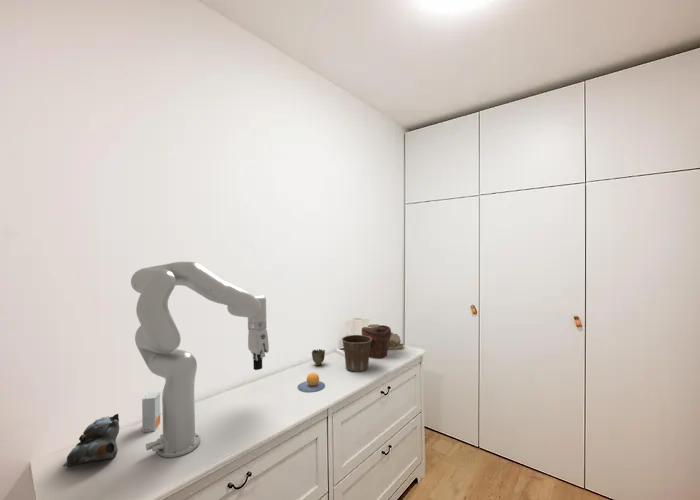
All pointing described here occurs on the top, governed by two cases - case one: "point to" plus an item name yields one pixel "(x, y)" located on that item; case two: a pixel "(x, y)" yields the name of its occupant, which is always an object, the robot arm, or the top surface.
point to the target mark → (310, 387)
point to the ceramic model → (395, 342)
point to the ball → (312, 379)
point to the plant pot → (356, 352)
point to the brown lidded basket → (378, 340)
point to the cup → (318, 356)
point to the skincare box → (150, 412)
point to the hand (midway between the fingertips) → (257, 368)
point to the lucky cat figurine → (96, 442)
